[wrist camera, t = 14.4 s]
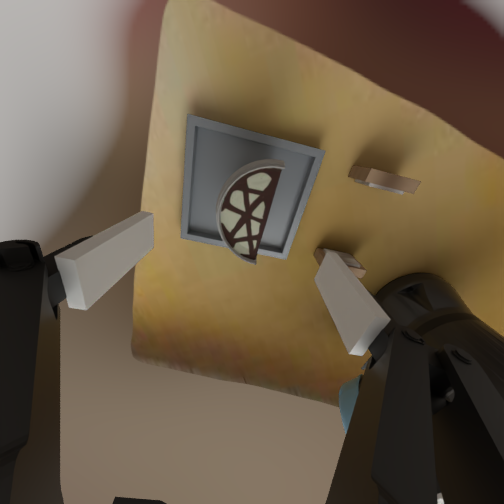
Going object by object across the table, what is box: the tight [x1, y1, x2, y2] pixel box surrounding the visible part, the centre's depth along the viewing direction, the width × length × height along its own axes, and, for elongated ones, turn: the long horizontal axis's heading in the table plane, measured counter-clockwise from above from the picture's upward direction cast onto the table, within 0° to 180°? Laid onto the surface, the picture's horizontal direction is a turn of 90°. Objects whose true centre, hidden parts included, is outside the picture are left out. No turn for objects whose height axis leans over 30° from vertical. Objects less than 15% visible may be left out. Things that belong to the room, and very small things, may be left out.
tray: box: [181, 114, 325, 260], centre depth 29 cm, size 18×17×2 cm
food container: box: [216, 159, 285, 265], centre depth 25 cm, size 12×6×10 cm, turn 166°
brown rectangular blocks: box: [314, 166, 421, 278], centre depth 30 cm, size 7×16×5 cm, turn 167°
